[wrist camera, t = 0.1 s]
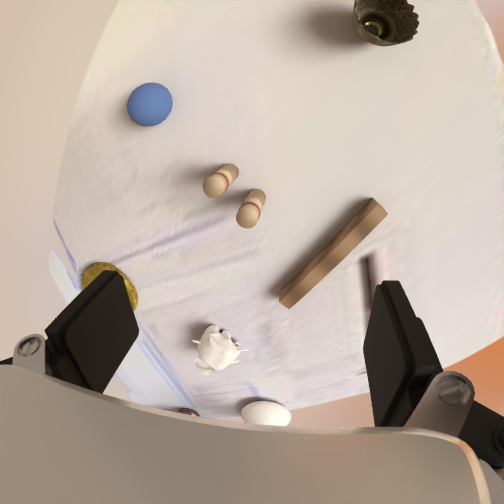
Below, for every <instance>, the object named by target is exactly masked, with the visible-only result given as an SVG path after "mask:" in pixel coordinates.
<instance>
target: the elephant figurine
mask: <svg viewBox="0 0 504 504" xmlns="http://www.w3.org/2000/svg"><path fill="white" fill-rule="evenodd" d="M219 330H220V328H219V326H218V325H211V326H209V327H208V328H207V329H206V330H205V331H204V333H203V336H202V338H201V339H200V340H199V341H198V340H192V341H193V342H195V343H198V346H197V349H198V353H199V356H198V357H197V358H196V360H195V363H196V366H197V368H198V370H199V371H200V372H201V373H202V374H204V375H211V374H213V373H215V372H216V371H217V370H222V369H224V368H225V367H226V366H227V365H228V364H232V363H236V362H240V361H234V360H235V359H236V358H237V356H238V355H239V353H240V352H241V351H248V350H245V349H242V350H241V345H240V343H238V342H234V344H233V342H232V340H231V338H230V332H229V331H228V330H223V331H222V333H219Z"/></svg>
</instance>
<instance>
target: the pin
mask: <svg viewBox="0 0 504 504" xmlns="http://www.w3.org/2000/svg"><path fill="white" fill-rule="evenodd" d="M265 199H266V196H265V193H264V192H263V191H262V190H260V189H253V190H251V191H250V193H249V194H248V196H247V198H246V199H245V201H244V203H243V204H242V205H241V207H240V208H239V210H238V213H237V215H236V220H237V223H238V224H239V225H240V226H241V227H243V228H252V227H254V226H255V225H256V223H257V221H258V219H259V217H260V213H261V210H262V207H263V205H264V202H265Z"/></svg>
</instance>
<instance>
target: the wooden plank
mask: <svg viewBox="0 0 504 504" xmlns="http://www.w3.org/2000/svg"><path fill="white" fill-rule="evenodd" d="M387 215H388V214H387V212H386V211H385V210H384V209H383V207H382V206H381V205H380V204H379V203H378V202H377V201H376V200H375V199H374V198H372V199H371V200H370V201H369V202H368V203H367V204H366V205H365V206H364V207H363V208H362V209H361V211H360V212H359V213H358V214H357V215H356V216H355V217H354V218H353V219H352V220H351V221H350V222H349V223H348V224H347V225H346V226H345V227H344V228H343V229H342V230H341V231H340V232H339V233H338V234H337V235H336V236H335V237H334V238H333V239H332V240H331V241H330V243H329V244H328V245H327V246H326V247H325V248H324V249H323V250H322V251H321V252H320V253H319V254H318V255H317V256H316V257H315V258H314V259H313V260H312V261H311V262H310V263H309V264H308V265H307V266H305V267H304V268H303V269H302V270H301V271H300V272H299V273H298V274H297V275H296V276H295V277H294V278H293V279H292V280H291V281H290V282H289V283H288V284H287V285H286V286H285V287H284V288H283V289H282V290H281V291H280V298H279V302H280V303H281V304H282V305H284V306H285V307H287V308H288V309H290V308H291V307H292V306H293V305H295V304H296V303H297V302H298V301H299V300H300V299H301V298H302V297H303V296H304V295H306V294H307V293H308V292H309V291H310V290H311V289H312V288H313V287H314V286H315V285H316V284H317V283H319V282H320V281H321V280H322V279H323V278H324V277H325V276H326V275H327V274H328V273H329V272H330V271H331V270H332V269H333V268H334V267H336V266H337V265H338V264H339V263H340V262H341V261H342V260H343V259H344V258H345V257H346V256H347V255H348V254H349V253H350V252H351V251H352V250H353V249H354V248H355V247H356V246H357V245H358V244H359V243H360V242H361V241H362V240H363V239H364V238H365V237H366V236H367V235H368V234H369V233H370V232H371V231H372V230H373V229H374V228H375V227H376V226H377V225H378V224H379V223H380V222H381V221H382V220H383V219H384V218H385V217H386V216H387Z"/></svg>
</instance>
